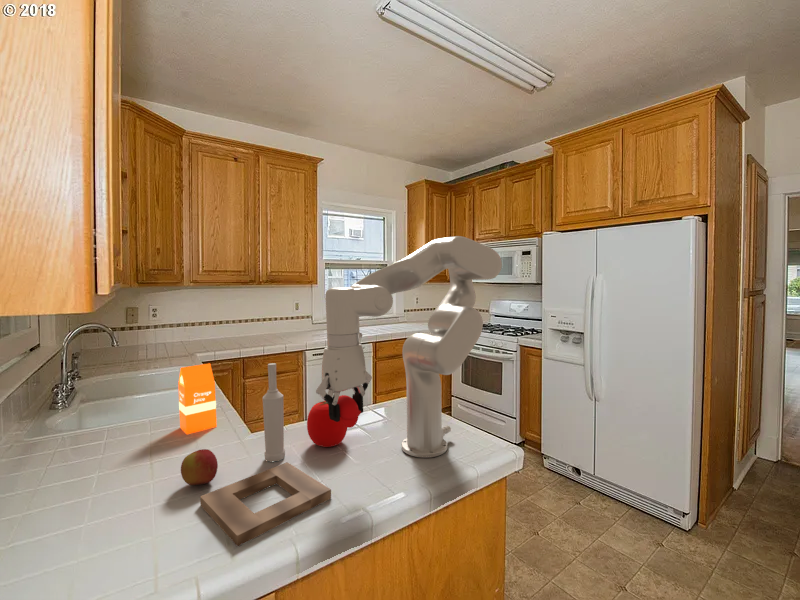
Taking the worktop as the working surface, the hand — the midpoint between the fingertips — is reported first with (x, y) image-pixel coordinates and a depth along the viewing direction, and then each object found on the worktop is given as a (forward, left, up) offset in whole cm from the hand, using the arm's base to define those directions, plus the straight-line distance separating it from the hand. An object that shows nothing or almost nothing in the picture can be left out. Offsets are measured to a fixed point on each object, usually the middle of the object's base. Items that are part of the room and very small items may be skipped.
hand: (346, 415), depth 90 cm
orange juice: (+13, -59, -15) cm, 62 cm away
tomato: (-8, -18, -15) cm, 25 cm away
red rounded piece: (0, 0, -2) cm, 2 cm away
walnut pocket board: (+18, -4, -15) cm, 24 cm away
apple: (+25, -22, -15) cm, 37 cm away
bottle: (+7, -21, -15) cm, 27 cm away
